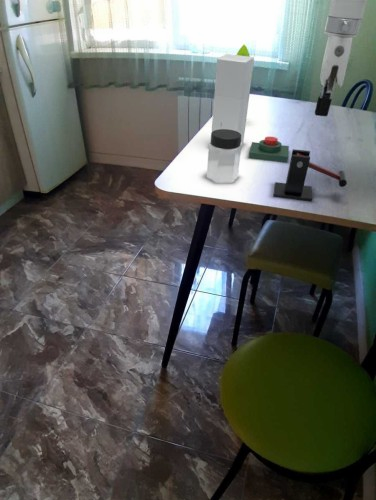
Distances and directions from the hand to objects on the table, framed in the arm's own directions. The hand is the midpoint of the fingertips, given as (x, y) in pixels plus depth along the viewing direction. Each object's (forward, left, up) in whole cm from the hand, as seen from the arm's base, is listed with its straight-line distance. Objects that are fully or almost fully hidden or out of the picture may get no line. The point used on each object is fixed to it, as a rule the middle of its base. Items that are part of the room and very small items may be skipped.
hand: (320, 114), depth 106 cm
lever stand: (+3, +10, -17) cm, 21 cm away
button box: (+11, -17, -17) cm, 27 cm away
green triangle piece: (+25, -46, -18) cm, 55 cm away
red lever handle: (-2, +10, -11) cm, 15 cm away
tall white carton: (+25, -21, -18) cm, 37 cm away
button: (+11, -17, -14) cm, 25 cm away
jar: (+23, +5, -18) cm, 30 cm away
